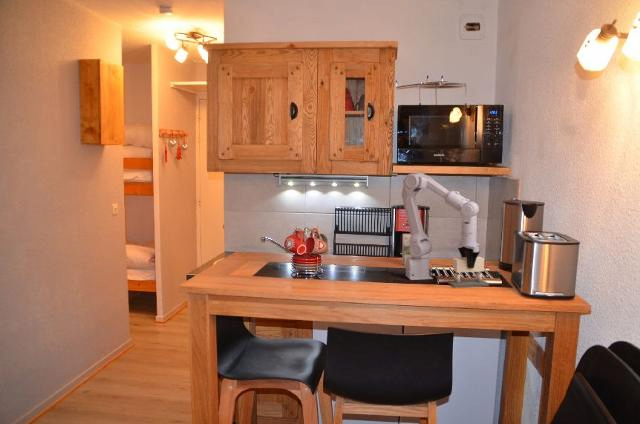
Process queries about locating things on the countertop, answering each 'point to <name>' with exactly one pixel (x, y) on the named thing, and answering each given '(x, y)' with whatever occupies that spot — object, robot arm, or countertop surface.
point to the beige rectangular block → (461, 266)
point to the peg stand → (468, 281)
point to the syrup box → (405, 248)
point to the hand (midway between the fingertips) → (468, 266)
